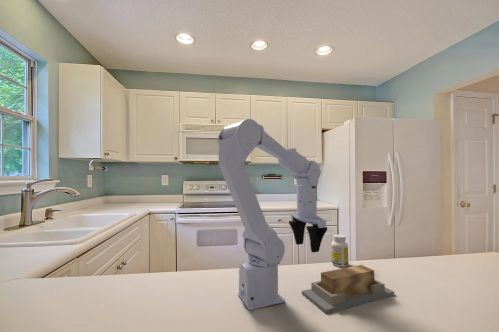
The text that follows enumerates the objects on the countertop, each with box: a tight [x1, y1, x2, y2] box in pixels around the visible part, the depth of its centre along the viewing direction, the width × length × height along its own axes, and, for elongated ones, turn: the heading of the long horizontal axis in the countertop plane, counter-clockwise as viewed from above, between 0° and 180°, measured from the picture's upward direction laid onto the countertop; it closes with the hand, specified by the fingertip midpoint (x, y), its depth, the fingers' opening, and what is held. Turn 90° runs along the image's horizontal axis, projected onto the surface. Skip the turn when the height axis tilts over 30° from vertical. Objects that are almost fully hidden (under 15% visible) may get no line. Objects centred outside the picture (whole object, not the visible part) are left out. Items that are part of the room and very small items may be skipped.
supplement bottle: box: [330, 234, 349, 268], centre depth 79 cm, size 5×5×10 cm
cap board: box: [301, 278, 395, 314], centre depth 59 cm, size 22×9×3 cm, turn 112°
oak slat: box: [320, 264, 375, 297], centre depth 59 cm, size 14×4×5 cm, turn 112°
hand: (306, 247), depth 67 cm, fingers open, 7 cm apart
